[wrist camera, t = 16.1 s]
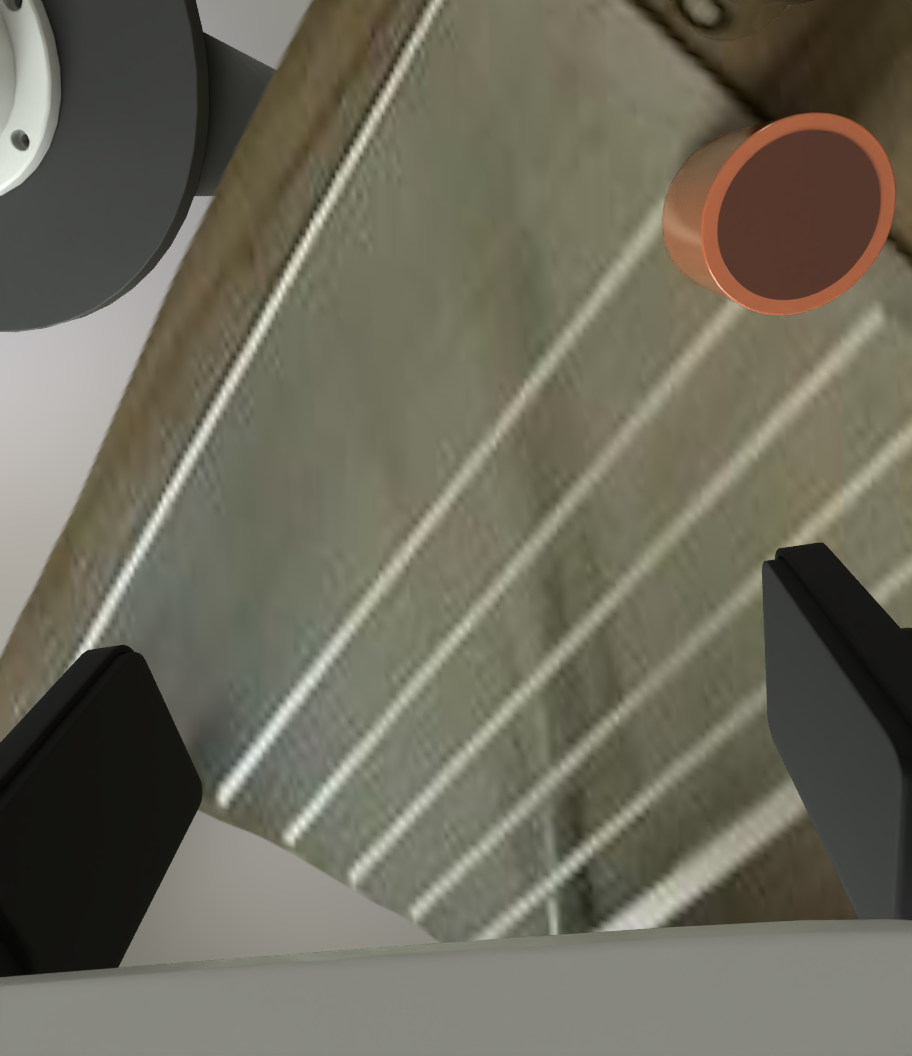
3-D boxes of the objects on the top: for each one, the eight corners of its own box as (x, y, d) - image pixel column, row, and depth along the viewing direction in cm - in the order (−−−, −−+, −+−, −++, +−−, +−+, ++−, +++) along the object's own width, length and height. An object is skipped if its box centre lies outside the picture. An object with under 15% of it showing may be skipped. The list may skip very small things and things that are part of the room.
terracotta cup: (631, 220, 35) (662, 228, 28) (748, 91, 33) (817, 63, 26) (727, 321, 37) (781, 352, 30) (847, 206, 35) (937, 210, 27)
